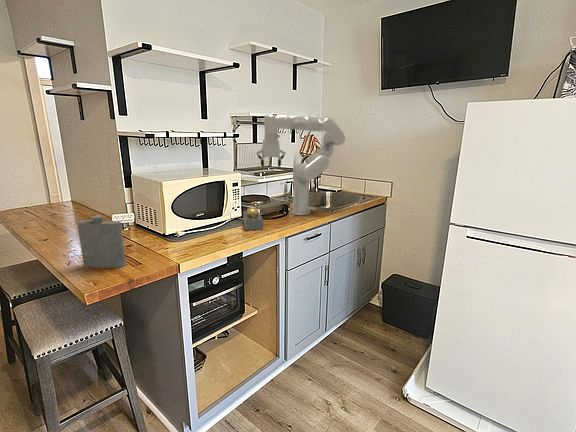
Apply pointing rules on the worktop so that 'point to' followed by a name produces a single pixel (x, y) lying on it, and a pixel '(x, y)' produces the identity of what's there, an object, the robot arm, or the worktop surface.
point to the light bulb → (252, 212)
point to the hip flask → (101, 243)
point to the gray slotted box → (252, 222)
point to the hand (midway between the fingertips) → (270, 166)
